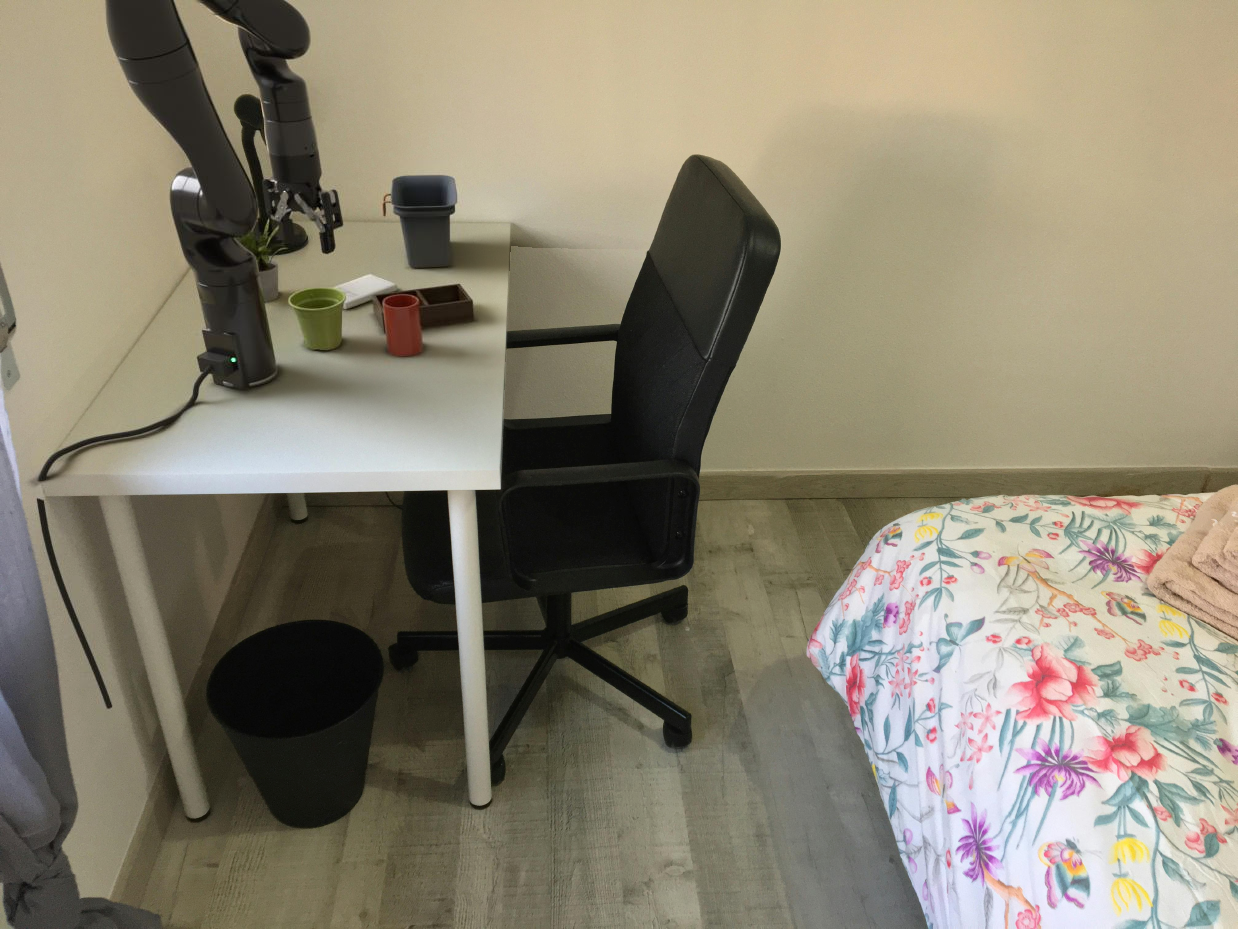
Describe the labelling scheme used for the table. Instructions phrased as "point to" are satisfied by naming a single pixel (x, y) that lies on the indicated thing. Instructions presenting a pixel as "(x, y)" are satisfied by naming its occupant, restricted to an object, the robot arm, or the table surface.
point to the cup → (403, 325)
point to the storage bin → (424, 216)
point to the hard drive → (364, 289)
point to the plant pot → (319, 316)
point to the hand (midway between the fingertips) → (309, 247)
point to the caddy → (433, 305)
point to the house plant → (264, 262)
